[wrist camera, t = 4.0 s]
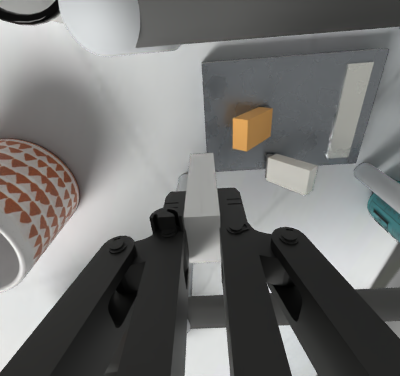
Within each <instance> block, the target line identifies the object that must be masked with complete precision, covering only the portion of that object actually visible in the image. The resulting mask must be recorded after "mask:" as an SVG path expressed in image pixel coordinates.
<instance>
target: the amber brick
mask: <svg viewBox="0 0 400 376" xmlns="http://www.w3.org/2000/svg"><path fill="white" fill-rule="evenodd" d="M272 113H273V108H271V107H270V106H265V107H258V108H255V109H253V110H251V111H248V112H246V113H244V114H241V115H239V116H237V117H234V118H233V149H237V150H242V151H246V152H247V151H249V150H250V149H252V148H253V147H255V146H256V145H258V144H260V143H261V142H263V141H264V140H266V139H267V138H269V137H271V125H272Z"/></svg>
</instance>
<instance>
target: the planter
mask: <svg viewBox="0 0 400 376" xmlns="http://www.w3.org/2000/svg"><path fill="white" fill-rule="evenodd" d="M78 203H79V188H78V185H77V182H76V180H75V178H74V176H73V174H72V173H71V171H70V170H69V168H68V167H67V166H66V165H65V164H64V163H63V162H62V161H61V160H60V159H59V158H58V157H57V156H55V155H54V154H53V153H51V152H50V151H48V150H46V149H45V148H43V147H41V146H39V145H36V144H34V143H31V142H28V141H24V140H18V139H0V293H1V292H4V291H7V290H10V289H12V288H14V287H15V286H17V285H18V284H19V283H20V282H21V281H22V280H23V279H24V278H25V276H26V275H27V274H28V272H29V271H30V270H31V269H32V267H33V266H34V265H35V263H36V262H37V261H38V259H39V258H40V257H41V255H42V254H43V253H44V252H45V250H46V249H47V248H48V246H49V245H50V244H51V242H52V241H53V240H54V238H55V237H56V236H57V235H58V233H59V232H60V231H61V229H62V228H63V227H64V225H65V224H66V223H67V221H68V220H69V219H70V218H71V216H72V215H73V213H74V212H75V211H76V209H77V206H78Z"/></svg>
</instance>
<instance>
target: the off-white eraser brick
mask: <svg viewBox="0 0 400 376" xmlns="http://www.w3.org/2000/svg"><path fill="white" fill-rule="evenodd" d="M317 168H318V166H317V165H314V164H311V163H307V162H304V161H300V160H297V159H294V158H290V157H287V156H283V155H280V154H274V155H273V154H267V158H266V171H265V178H266V181H269V182H271V183H274V184H276V185H279V186H281V187H284V188H286V189H289V190H291V191H294V192H297V193H299V194H302V195H304V196H306V195H307V194H309V193H310V192H311V191H313V188H314V183H315V178H316V173H317Z"/></svg>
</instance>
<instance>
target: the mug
mask: <svg viewBox="0 0 400 376" xmlns="http://www.w3.org/2000/svg"><path fill="white" fill-rule="evenodd" d="M0 19H1V20H3V21H7V22H11V23H15V24H19V25H33V26H35V25H39V24H44V23H47V22H49V21H53V22H58V23H64V22H63V20H62V17H61V14H60V10H59V3H58V0H0Z"/></svg>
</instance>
